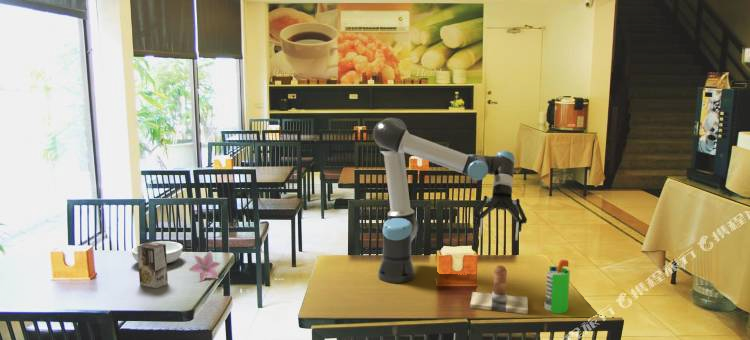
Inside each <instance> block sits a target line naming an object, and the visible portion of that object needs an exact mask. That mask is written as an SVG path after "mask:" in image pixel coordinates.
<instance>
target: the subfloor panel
mask: <svg viewBox="0 0 750 340" xmlns="http://www.w3.org/2000/svg"><path fill="white" fill-rule="evenodd" d="M528 303H529V302H528V296H520V295H519V296H518V295H508V294H507V300H506V302H505V303H495V302H493V301H492V293H485V292H475V291H472V293H471V300H470V303H469V304H470V305H469V306H470V307H469V308H470V309H476V310H477V309H478V310H483V311H484V310H486V311H496V312H507V313H517V314H524V315H526V314H527V315H528V313H529V307H528Z"/></svg>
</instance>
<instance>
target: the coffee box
mask: <svg viewBox="0 0 750 340" xmlns="http://www.w3.org/2000/svg"><path fill="white" fill-rule="evenodd" d="M152 242H153V241H147V242H145V243H142V245H141V244H138V245H139V246H138V245H136V246H137V252H138V262H137V263H138V264H137V265H138V275H139V286H144V287H148V288H153V289H159V288H161V287H163V286H165V285H167V284H168V283H169V282H168V281H169V279H168V278H169V277H168V263H167V260H166V245H165V244H159V243H152Z"/></svg>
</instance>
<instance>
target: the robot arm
mask: <svg viewBox="0 0 750 340" xmlns="http://www.w3.org/2000/svg"><path fill="white" fill-rule="evenodd" d="M372 137H373V140H374V142H375V143H376V144H377V146H378V147H379V152H380V153H381V154H382V155H383V158H384V159H383V160H384V167H385V175H386V183H387V191H388V199H389V207H390V210H389V211H388V212H387V220H386V221H384V222H383V226H382V260H381V262H380V265H379V268H378V271H377V272H378V273H377V276H378V279H380V280H381V281H384V282H387V283H393V284H394V283H397V284H399V283H400V284H401V283H408V282H411V281H413V280H414V279H415V277H416V271H415V268H414V265H413V262H412V261H413V260H412V241H413V240H414V239H415V238H416V236H417V234H418V231H419V223H418V220H417V219H416V215H415V214H416V213H415V210H414V209H413V208H412V207H411V202H410V194H409V184H408V183H409V182H408V177H407V167H406V158H405V154H407V155H411V156H412V157H416V158H419V159H423V160H425V161H428V162H429V163H433V164H435V165H439V166H442V167H444V168H446V169H450V170H452V171H455V172H458V173H460V174H463V175H466V176H468V177H469V178H470V179H471V180H474V181H481V180H483V179H485V177H487V175H493V182H492V183H493V187H492V193H491V194H492V195H491V197H489V196H488V195H484V196H483V200H482V202H481V203H480V204H479V205H478V207H477V209H476V210H475V211H474V213H473V219H477V222H476V225H477V226H476V227H477V228H479V233H478V234H479V235H478V236H479V237H482V232H483V222H484V221H483V220H484V218H485V217H486V216H487V215H488V214H490V213H491V212H492V211H493V210H494V209H495V210H502V211H507V212H508V213H510V216H512V217H513V219H514V220H515V221H516V225H515V226H516V227H515V238H514V239H515V241H518V240H519V239H518V237H519V233H521V232H522V227H523V226H522V225H523V224H527V222H528V218H527V217H526V215H525V212H524V210H523V208H522V206H521V204H520V203H521V202H520V201H521V200H520V199H519V198H516V199H512V195H513V194H512V193H513V187H514V186H513V185H514V184H513V183H514V174H515V173H514V171H515V155H514V153H513V152H510V151H507V150H500V151H498V152H497V153H496V155H493V156H492V155H483V154H476V153H475V154H470V153H469V154H466V153H463V152H461V151H458V150H456V149H455V150H454V149H452V148H449V147H447V146H444V145H442V144H441V145H440V144H438V143H436V142H433V141H430V140H428V139H425V138H422V137H419V136H416V135H414V134H411V133H409V131H408V130H407V126H406V124H405V123H404V121H403V120H402V119H400V118H397V117H387V118H385V119H382V120H381V121H379V122H377V123H376V124H375V126H374V128H373V131H372ZM489 202H490V204H489V206H488V207H487V208H485V206H486V205H487V203H489ZM511 205H514V206H515V207H516V209H517V212H518V213H517V212H516V211H515V209H514V208H513V206H511ZM484 208H485V210H484ZM482 210H483V211H482Z"/></svg>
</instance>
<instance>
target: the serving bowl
mask: <svg viewBox="0 0 750 340" xmlns="http://www.w3.org/2000/svg"><path fill="white" fill-rule="evenodd" d="M151 242H152V243H159V244H165V245H166V260H167V264H170V263H172V262H175V261H177V259H179V258H180V257H181V255H182V253H183V249H184V248H183V247H184V246H183V245H182V244H181V243H179V242H177V241H176V242H175V241H167V240H166V241H165V240H160V241H151ZM142 244H143V243H142ZM142 244H138V245H136V246H134V247H133V248H132V249H131V254H132V257H133V259H134V260H135V261H136V262H137V263H138V252H137V246H139V245H142Z"/></svg>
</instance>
